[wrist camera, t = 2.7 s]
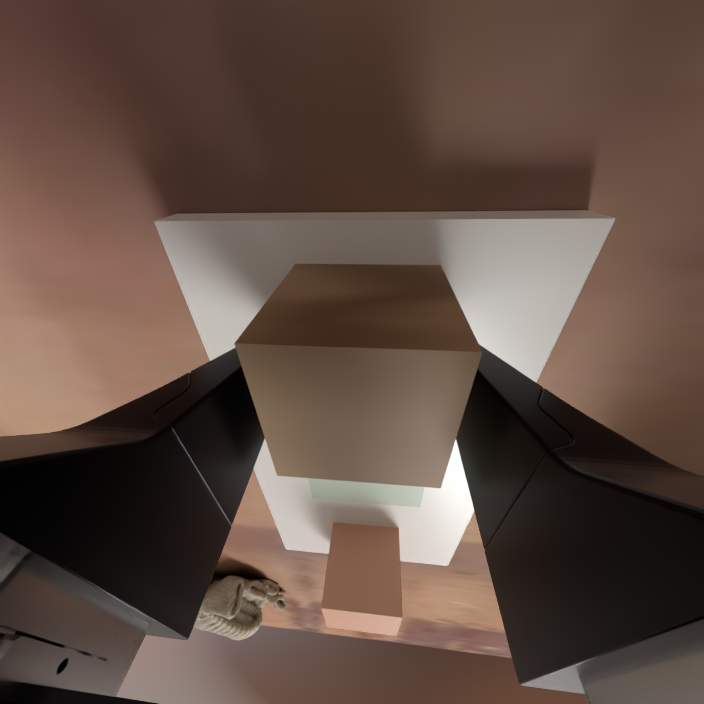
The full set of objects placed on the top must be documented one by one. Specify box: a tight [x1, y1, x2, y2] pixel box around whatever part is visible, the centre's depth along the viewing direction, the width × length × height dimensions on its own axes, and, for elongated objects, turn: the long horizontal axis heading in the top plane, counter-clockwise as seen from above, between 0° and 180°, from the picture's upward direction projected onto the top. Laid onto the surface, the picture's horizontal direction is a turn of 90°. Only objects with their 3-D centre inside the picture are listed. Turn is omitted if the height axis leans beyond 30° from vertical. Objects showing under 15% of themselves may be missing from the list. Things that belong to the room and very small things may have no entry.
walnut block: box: [234, 264, 482, 488], centre depth 8 cm, size 4×4×4 cm
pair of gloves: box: [194, 575, 287, 640], centre depth 30 cm, size 30×26×5 cm
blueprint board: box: [154, 210, 616, 566], centre depth 16 cm, size 25×13×1 cm, turn 1°
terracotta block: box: [321, 522, 402, 636], centre depth 19 cm, size 4×4×4 cm
